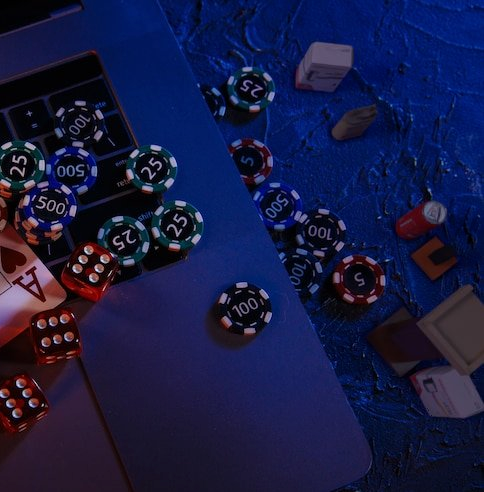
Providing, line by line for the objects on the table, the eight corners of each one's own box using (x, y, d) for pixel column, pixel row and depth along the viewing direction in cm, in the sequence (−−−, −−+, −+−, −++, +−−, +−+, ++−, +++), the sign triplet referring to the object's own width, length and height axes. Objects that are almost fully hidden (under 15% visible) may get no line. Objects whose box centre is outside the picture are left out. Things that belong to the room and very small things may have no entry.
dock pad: (462, 286, 103) (470, 283, 101) (507, 336, 101) (516, 335, 99) (415, 323, 102) (422, 321, 99) (460, 375, 100) (468, 375, 97)
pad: (433, 237, 128) (450, 229, 122) (455, 262, 127) (473, 254, 121) (410, 255, 128) (425, 248, 121) (432, 280, 126) (449, 274, 120)
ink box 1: (294, 90, 137) (311, 61, 125) (295, 69, 138) (312, 39, 126) (334, 94, 136) (354, 66, 125) (334, 73, 137) (354, 44, 126)
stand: (401, 307, 125) (462, 288, 103) (435, 347, 123) (505, 336, 101) (364, 336, 124) (417, 323, 102) (398, 377, 122) (460, 373, 100)
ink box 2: (407, 375, 122) (437, 373, 110) (430, 365, 122) (462, 362, 111) (429, 417, 120) (462, 420, 109) (452, 407, 120) (487, 409, 109)
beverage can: (390, 234, 129) (417, 218, 117) (398, 213, 130) (426, 195, 118) (413, 245, 128) (443, 229, 116) (421, 223, 129) (452, 206, 118)
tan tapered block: (334, 142, 134) (351, 122, 124) (328, 126, 134) (345, 105, 125) (365, 134, 134) (385, 113, 124) (359, 118, 135) (378, 97, 125)
